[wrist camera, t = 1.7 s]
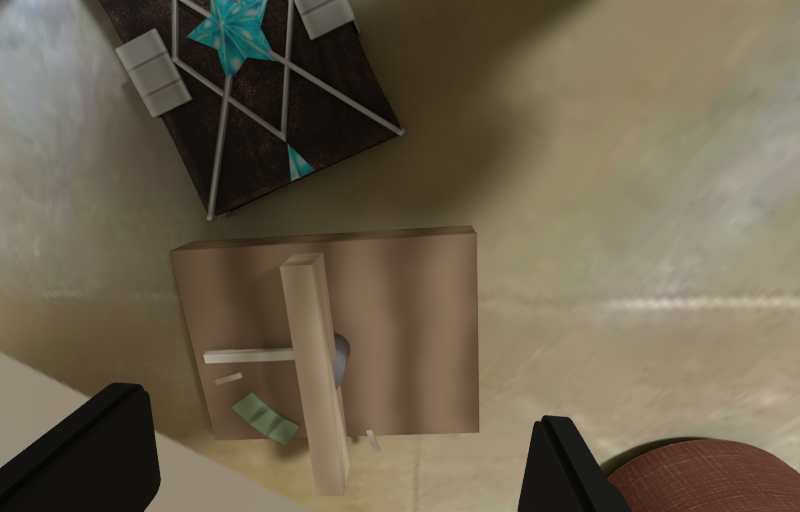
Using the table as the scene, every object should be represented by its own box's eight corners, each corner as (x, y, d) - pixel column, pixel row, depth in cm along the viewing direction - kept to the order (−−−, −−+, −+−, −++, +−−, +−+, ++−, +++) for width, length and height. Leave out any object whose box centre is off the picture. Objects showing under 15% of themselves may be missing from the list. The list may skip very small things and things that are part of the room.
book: (80, -60, 27) (7, -105, 22) (287, -181, 25) (256, -261, 20) (228, 217, 32) (195, 229, 27) (410, 138, 30) (410, 136, 25)
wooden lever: (337, 242, 28) (319, 264, 23) (360, 438, 33) (350, 495, 28) (185, 251, 29) (132, 274, 24) (229, 442, 34) (194, 498, 28)
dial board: (470, 225, 31) (476, 233, 28) (474, 425, 36) (479, 451, 33) (191, 242, 32) (167, 252, 29) (234, 432, 38) (218, 458, 35)
